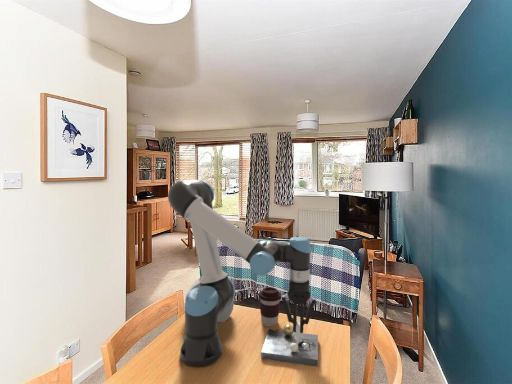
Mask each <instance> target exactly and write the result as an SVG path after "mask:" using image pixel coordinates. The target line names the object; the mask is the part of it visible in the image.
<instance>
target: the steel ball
mask: <svg viewBox="0 0 512 384" xmlns="http://www.w3.org/2000/svg"><path fill="white" fill-rule="evenodd" d="M309 347H310V346H309V344H308V343H303V344H302V345H301V348H305V349H306V348H309Z"/></svg>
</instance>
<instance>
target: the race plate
mask: <svg viewBox="0 0 512 384" xmlns="http://www.w3.org/2000/svg"><path fill="white" fill-rule="evenodd" d="M318 337H319V335H318V334H312V333H311V334H310V333H304V332H303V333H300V342H296V332H293V334H292V335H290V336H288V335H286V334H285V333H284V331H283V330H279V329H273V328H272V329H271V328H268V329H267V332H266V336H265V339H264V342H263V345H262V349H261V352H260V359H261V360H265V361H266V360H269V361H274V362H279V363H280V362H282V363H288V364H296V365H303V366H309V367H316V368H318V367H319V365H318V364H319V362H318V361H319V344H318V343H319V342H318V341H319V338H318ZM292 343H296V344H297V345H298V350H297V352H292V351H291V350H290V345H291V344H292ZM303 343H308V344H309V346H310V347H309V348H306V349H305V348H301V345H302V344H303Z"/></svg>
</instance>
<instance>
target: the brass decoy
mask: <svg viewBox="0 0 512 384" xmlns="http://www.w3.org/2000/svg"><path fill="white" fill-rule="evenodd" d="M282 331H284V333H285V334H286V335H288V336H290V335H292V334H293V325H291V324H285V325H284V326H283V329H282Z"/></svg>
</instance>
